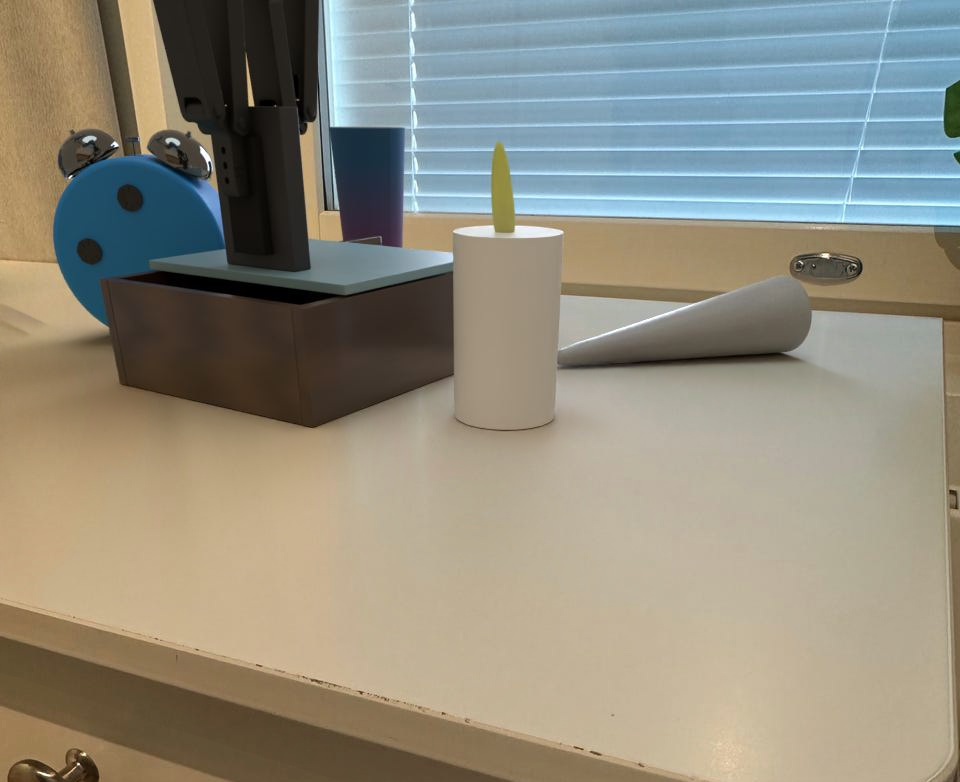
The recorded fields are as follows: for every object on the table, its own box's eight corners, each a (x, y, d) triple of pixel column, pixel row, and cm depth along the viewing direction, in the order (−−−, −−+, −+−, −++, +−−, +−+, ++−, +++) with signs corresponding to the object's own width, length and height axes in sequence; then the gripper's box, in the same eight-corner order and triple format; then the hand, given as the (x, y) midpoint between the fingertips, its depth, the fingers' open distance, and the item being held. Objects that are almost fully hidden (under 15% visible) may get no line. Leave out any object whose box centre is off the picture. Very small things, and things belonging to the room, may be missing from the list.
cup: (327, 301, 88) (314, 126, 80) (383, 293, 92) (375, 126, 84) (367, 311, 83) (357, 127, 76) (424, 303, 87) (420, 127, 80)
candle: (577, 414, 56) (595, 141, 48) (505, 436, 52) (511, 142, 44) (505, 394, 59) (511, 138, 52) (433, 413, 56) (428, 139, 48)
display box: (119, 383, 61) (98, 278, 57) (378, 315, 82) (374, 235, 78) (312, 427, 53) (301, 308, 49) (544, 339, 74) (548, 251, 70)
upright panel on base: (150, 269, 60) (121, 105, 55) (302, 245, 71) (289, 106, 66) (345, 295, 52) (332, 106, 47) (482, 264, 63) (483, 108, 58)
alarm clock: (251, 329, 76) (227, 128, 69) (237, 345, 71) (209, 130, 63) (97, 328, 76) (56, 127, 68) (72, 345, 71) (24, 128, 63)
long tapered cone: (589, 323, 60) (813, 275, 65) (545, 318, 65) (755, 274, 71) (595, 408, 62) (811, 355, 68) (552, 396, 67) (755, 348, 73)
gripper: (146, -313, 38) (222, 271, 50) (362, -219, 49) (382, 244, 61) (40, -279, 42) (135, 259, 54) (263, -199, 52) (301, 236, 64)
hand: (266, 250), depth 57 cm, fingers closed on upright panel on base, 2 cm apart
